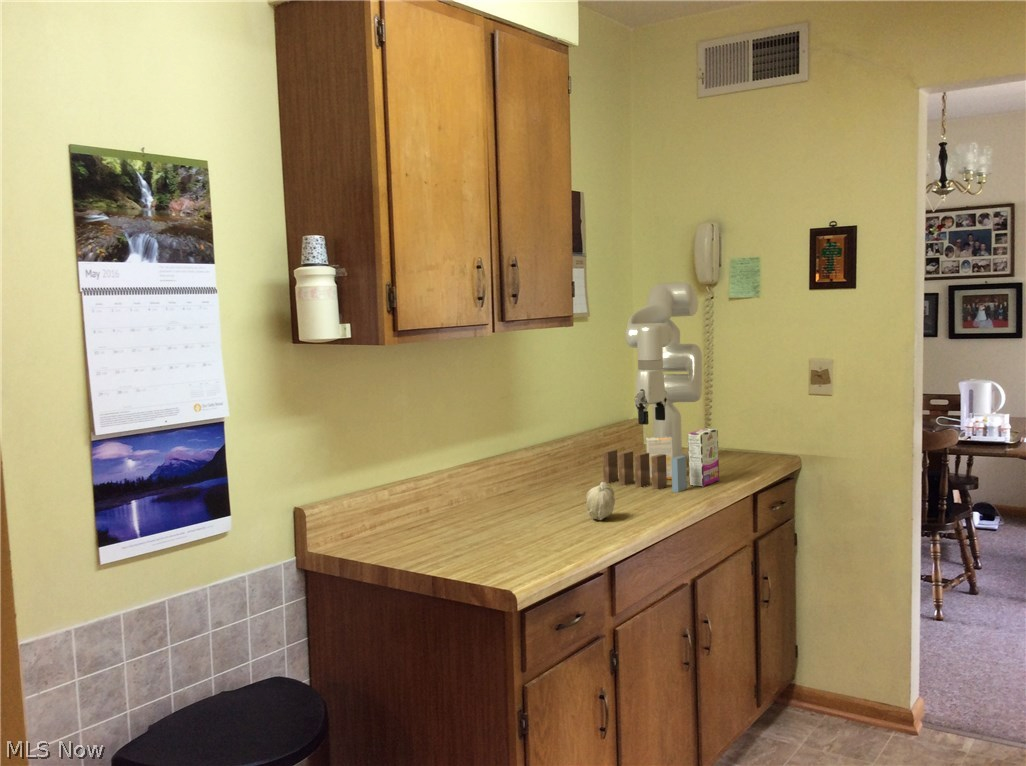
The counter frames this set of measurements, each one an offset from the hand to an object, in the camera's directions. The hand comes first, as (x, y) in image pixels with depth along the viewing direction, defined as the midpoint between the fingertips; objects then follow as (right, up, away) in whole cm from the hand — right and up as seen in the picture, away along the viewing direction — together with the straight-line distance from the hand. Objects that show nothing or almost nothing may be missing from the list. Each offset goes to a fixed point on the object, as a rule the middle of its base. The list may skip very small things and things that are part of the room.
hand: (652, 422), depth 270 cm
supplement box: (+5, -19, +15) cm, 25 cm away
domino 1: (-11, -20, +12) cm, 26 cm away
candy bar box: (+17, -19, +4) cm, 26 cm away
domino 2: (-7, -20, +8) cm, 22 cm away
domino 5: (+7, -20, -5) cm, 22 cm away
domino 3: (-2, -20, +4) cm, 20 cm away
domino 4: (+2, -20, 0) cm, 20 cm away
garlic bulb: (-19, -24, -37) cm, 48 cm away
